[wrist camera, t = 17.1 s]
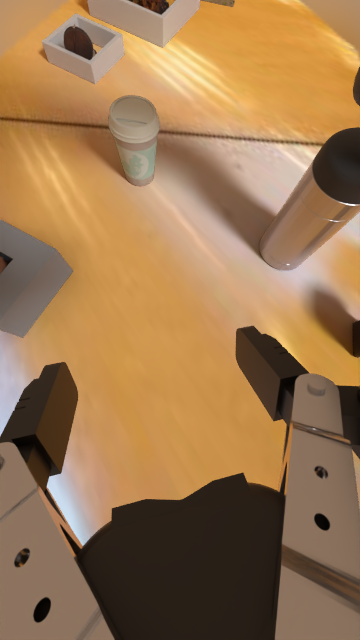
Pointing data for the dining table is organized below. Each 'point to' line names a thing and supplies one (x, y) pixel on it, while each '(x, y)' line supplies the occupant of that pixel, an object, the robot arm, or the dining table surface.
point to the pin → (3, 264)
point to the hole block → (27, 278)
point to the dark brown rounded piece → (78, 42)
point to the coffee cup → (135, 136)
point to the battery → (356, 338)
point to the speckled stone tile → (222, 2)
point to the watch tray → (78, 64)
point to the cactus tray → (145, 18)
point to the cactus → (153, 5)
